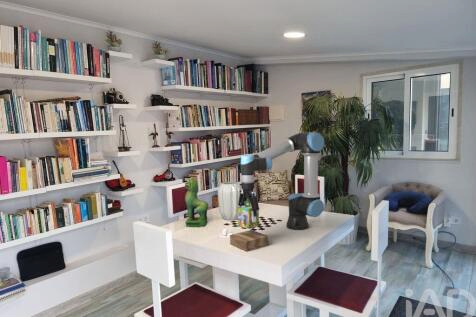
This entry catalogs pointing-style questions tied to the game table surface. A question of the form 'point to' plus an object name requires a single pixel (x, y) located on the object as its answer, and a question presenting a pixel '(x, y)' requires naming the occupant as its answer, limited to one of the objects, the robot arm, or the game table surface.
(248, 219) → the chalk box
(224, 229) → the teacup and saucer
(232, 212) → the vase
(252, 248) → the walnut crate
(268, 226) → the game table surface
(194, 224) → the lion statue
